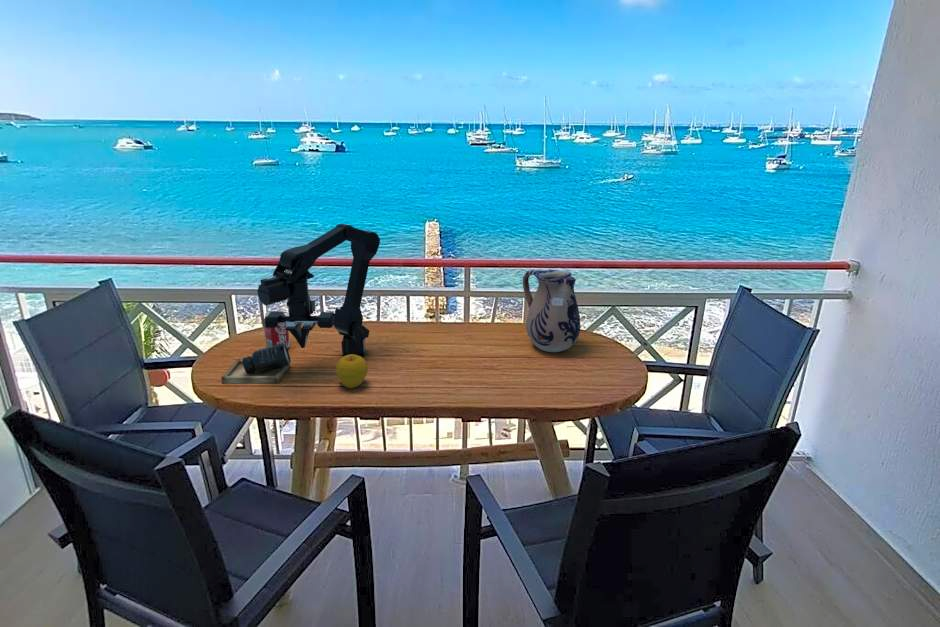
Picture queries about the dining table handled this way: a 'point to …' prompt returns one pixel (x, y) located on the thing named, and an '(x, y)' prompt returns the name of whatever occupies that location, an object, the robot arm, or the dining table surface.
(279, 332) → the soda can
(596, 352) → the dining table surface
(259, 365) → the supplement bottle
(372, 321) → the dining table surface
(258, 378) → the metal tray
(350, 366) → the apple
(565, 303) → the ceramic pitcher
